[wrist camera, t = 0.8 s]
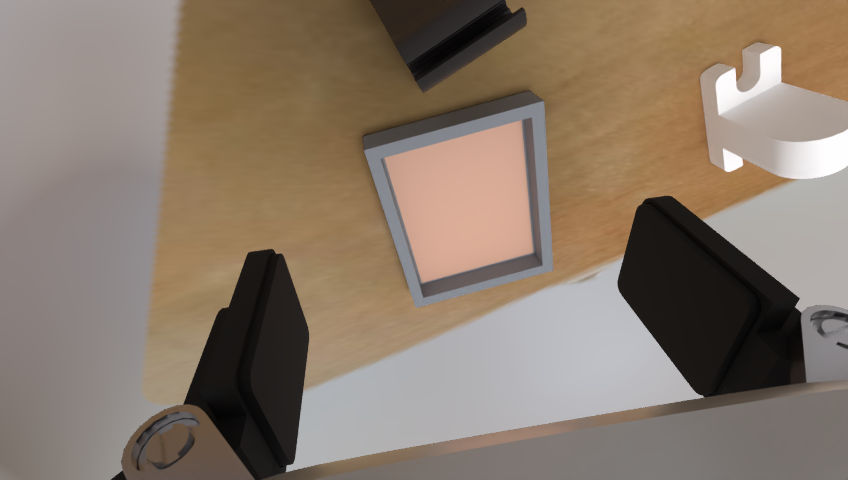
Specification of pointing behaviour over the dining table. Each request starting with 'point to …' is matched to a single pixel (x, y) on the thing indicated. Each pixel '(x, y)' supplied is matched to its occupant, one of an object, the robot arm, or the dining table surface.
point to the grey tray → (467, 196)
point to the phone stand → (446, 33)
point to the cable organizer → (772, 119)
